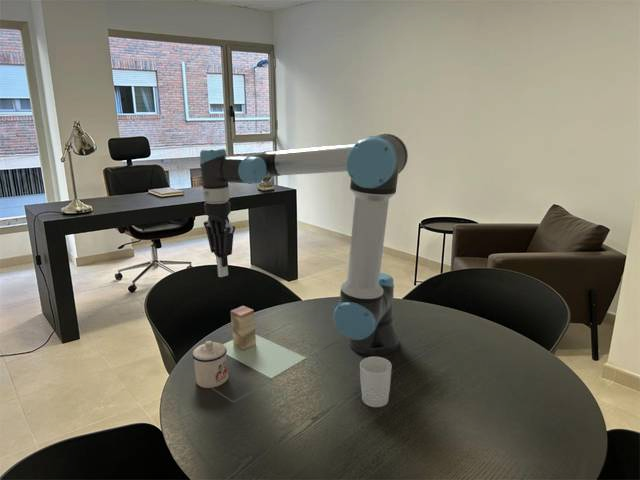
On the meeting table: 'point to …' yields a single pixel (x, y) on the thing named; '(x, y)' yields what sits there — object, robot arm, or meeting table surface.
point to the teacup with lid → (210, 364)
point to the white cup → (375, 381)
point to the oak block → (243, 328)
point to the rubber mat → (265, 357)
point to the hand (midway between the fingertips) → (223, 275)
